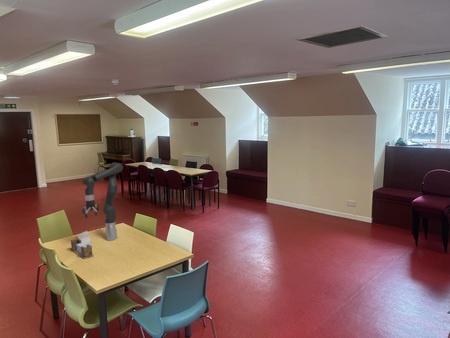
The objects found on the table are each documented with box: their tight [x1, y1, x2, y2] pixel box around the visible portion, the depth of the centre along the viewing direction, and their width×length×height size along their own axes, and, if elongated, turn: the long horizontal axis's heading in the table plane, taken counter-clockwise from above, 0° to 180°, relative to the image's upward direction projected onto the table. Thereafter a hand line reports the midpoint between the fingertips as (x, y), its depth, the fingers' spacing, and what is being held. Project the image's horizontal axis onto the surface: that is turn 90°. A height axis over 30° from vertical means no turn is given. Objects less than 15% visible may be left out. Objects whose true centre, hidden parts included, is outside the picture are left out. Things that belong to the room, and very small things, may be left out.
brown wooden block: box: [70, 238, 94, 260], centre depth 280 cm, size 8×29×9 cm, turn 46°
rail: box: [76, 243, 87, 253], centre depth 280 cm, size 4×22×6 cm, turn 46°
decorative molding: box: [76, 230, 93, 247], centre depth 310 cm, size 34×5×10 cm
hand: (91, 216), depth 292 cm, fingers open, 8 cm apart
